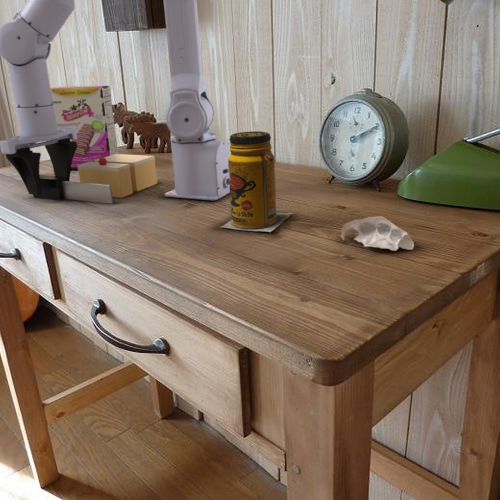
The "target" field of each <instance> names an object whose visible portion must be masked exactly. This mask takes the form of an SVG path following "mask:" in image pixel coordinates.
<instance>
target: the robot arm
mask: <svg viewBox="0 0 500 500" xmlns="http://www.w3.org/2000/svg"><path fill="white" fill-rule="evenodd" d="M163 8H164V9H163V10H164V18H165V19H164V20H165V29H166V36H167V37H166V38H167V47H168V58H169V67H170V87H169V99H170V101H169V102H170V103H169V106H168V108H167V112H166V119H165V120H166V126H167V128H168V130H169V131H170V133H171V136H170V148H171V149H170V150H171V160H172V169H173V180H174V189H171V190H170V191H167V192H165V193H164V197H169V198H178V199H179V198H181V199H190V200H199V201H210V202H211V201H212V202H214V201H217V200H219V199H221V198H223V197H224V196H226V195H229V194H230V188H229V187H230V183H229V172H228V170H229V167H228V157H229V156H230V154H231V151H230V145H231V144H230V142H228V141H227V140H220V139H218V138H217V136H216V133H215V132H214V131H213V130H212V127H211V125H212V124H213V121H214V118H215V108H214V105H213V103H212V101H211V100H210V98H209V96H208V91H207V83H206V81H205V77H204V72H203V60H202V59H203V57H202V48H201V46H202V45H201V36H200V35H201V34H200V24H199V23H200V22H199V11H198V0H163ZM75 10H76V1H75V0H27V1H25V4H24V5H23V6H22V8H21V10H20V11H19V12H15V13H14V14H13V16H12V19H13V20H14V21H11V22H10V21H9V22H7V23H4V24H2V25H0V56H1V57H2V58H3V59H4V60H5V61H6V62H7V68H8V74H9V79H10V84H11V85H10V86H11V90H12V96H13V100H14V106H15V111H16V116H17V121H18V127H19V132H20V133H18V135H15V136H13V137H10V138H6V139H3V140H0V152H1V154H2V155H5V158H6V159H7V160H8V162H9V163H10V164H11V165H12V166H13V167H14V168H15V170H16V171H17V173H18V175H19V176H20V178H21V181H22V182H23V184H24V186H25V189H26V190H27V193H28V194H29V195H39V194H41V182H40V175H41V174H40V164H41V163H40V162H41V157H42V154H41V152H33V150H31V149H35V148H39V147H40V148H41V147H43V146H44V148H45V150H46V152H47V154H48V157H49V159H50V161H51V165H52V168H53V173H54V176H61V177H66V181H69V182H71V179H70V178H71V171H72V169H71V164H72V160H73V156H74V154H75V151H76V149H77V142H74V141H70V139H71V140H73V139H77V133H76V128H74V127H66V128H60V129H58V127H57V121H56V115H55V109H54V103H53V97H52V91H51V88H52V86H51V79H50V74H49V69H48V58H49V57H50V55H51V51H52V44H51V43H52V42H53V41H54V40H55V38H56V37H57V35H58V34H59V33H60V31H61V29H62V28H63V27H64V25H65V24H66V23H67V22H68V20H69V18H70V17H71V15H72V14H73V13H74V11H75Z"/></svg>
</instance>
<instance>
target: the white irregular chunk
mask: <svg viewBox="0 0 500 500" xmlns="http://www.w3.org/2000/svg"><path fill="white" fill-rule="evenodd" d="M340 234H341V236H340V237H341V240H342V241H345V236H352V235H355V234H357V235H356V236H355V237H354V238H353V241H356V242H358V243H361V244H363V247H366V248H367V247H372V248H379V249H387V250H388V249H389V250H390V251H392V252H393V251H394V252H396V251H397V250H398V249H399V248H401V249H403V250H409V251H410V250H414V248H415V242H414V241H413V239H412V238H411V236H410V234H409V233H408V232H407V231H406V230H403V229H402V228H401V227H398V226H397V225H395V224H394V222H391V221H390V220H388V219H387V218H386V217H385V216H382V215H374V216H369V217H363V218H361V219H353V220H350V221H348V222H346V223H344V224H343V225H342V226H341V229H340Z"/></svg>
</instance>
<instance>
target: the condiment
mask: <svg viewBox="0 0 500 500" xmlns="http://www.w3.org/2000/svg"><path fill="white" fill-rule="evenodd" d="M271 139H272V136H271V134H270V132H266V131H259V130H257V131H253V130H252V131H241V132H236V133H235V132H234V133H231V135H230V136H229V144H230V151H231V154H230V156H229V157H228V167H229V170H228V172H229V183H230V187H229V188H230V193H229V200H230V201H229V202H230V214H231V220H229V221H227V223H225V224H223V225H221V228H223V229H231V230H239V231H247V232H249V231H250V232H267V233H268V232H269V233H271V232H273V231H274V230H276V229H277V228H278V227H280V225H282V224H283V223H284V222H285V220H287V219H289V217H290V216H291V215H293V214H294V212H277V198H276V196H277V195H276V193H277V192H276V167H275V163H276V162H275V155H274V154H273V151H272V144H271Z"/></svg>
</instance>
